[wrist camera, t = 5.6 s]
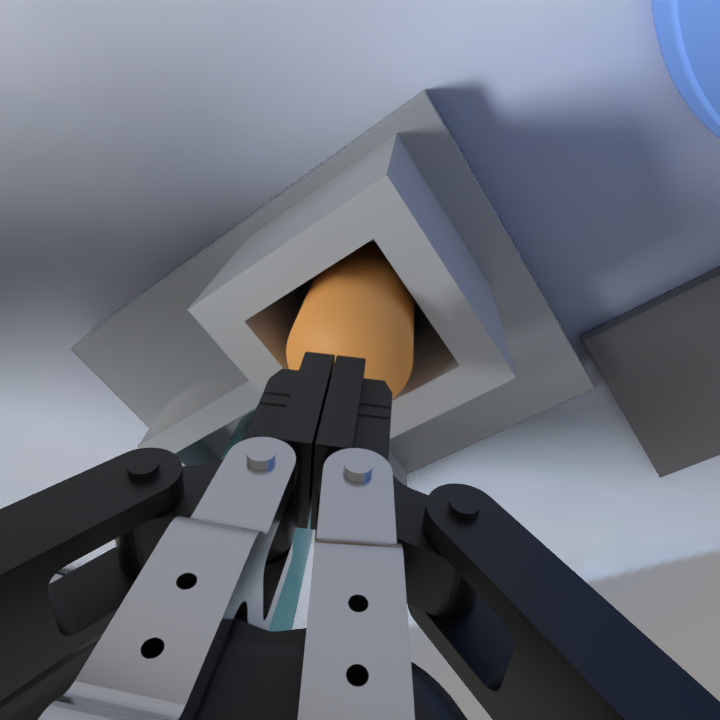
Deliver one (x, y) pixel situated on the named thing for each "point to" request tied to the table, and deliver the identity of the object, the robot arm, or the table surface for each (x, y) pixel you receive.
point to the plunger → (358, 317)
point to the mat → (667, 371)
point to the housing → (315, 254)
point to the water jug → (692, 53)
